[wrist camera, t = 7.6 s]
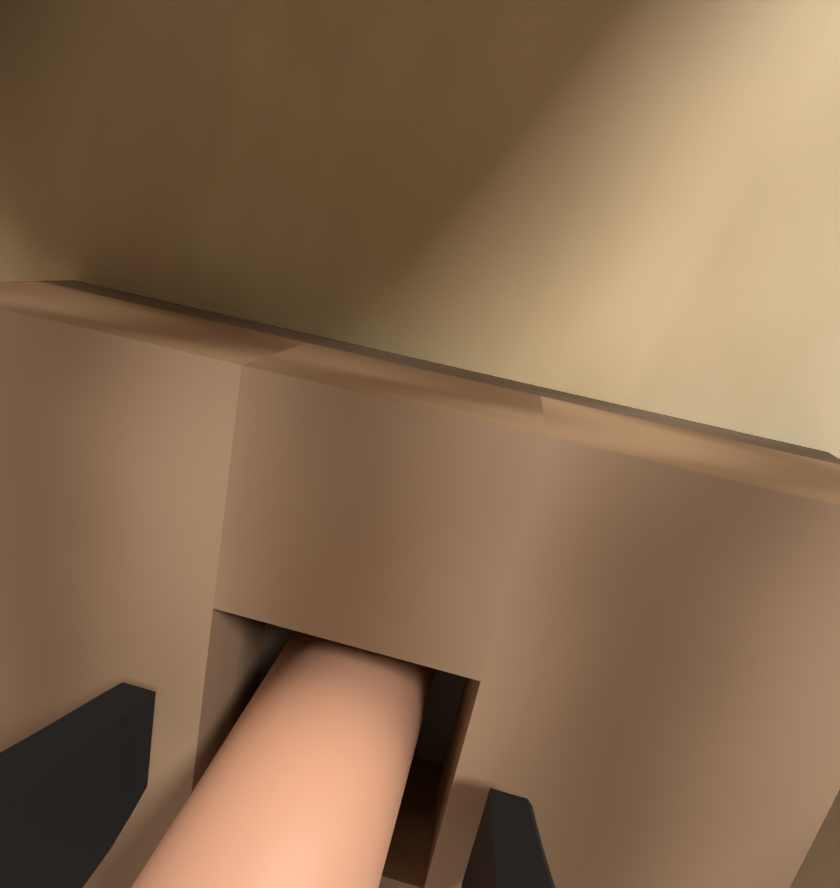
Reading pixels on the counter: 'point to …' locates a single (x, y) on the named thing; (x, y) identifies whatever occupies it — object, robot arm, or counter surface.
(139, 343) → the socket board
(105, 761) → the robot arm
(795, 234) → the counter surface
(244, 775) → the peg
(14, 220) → the counter surface
